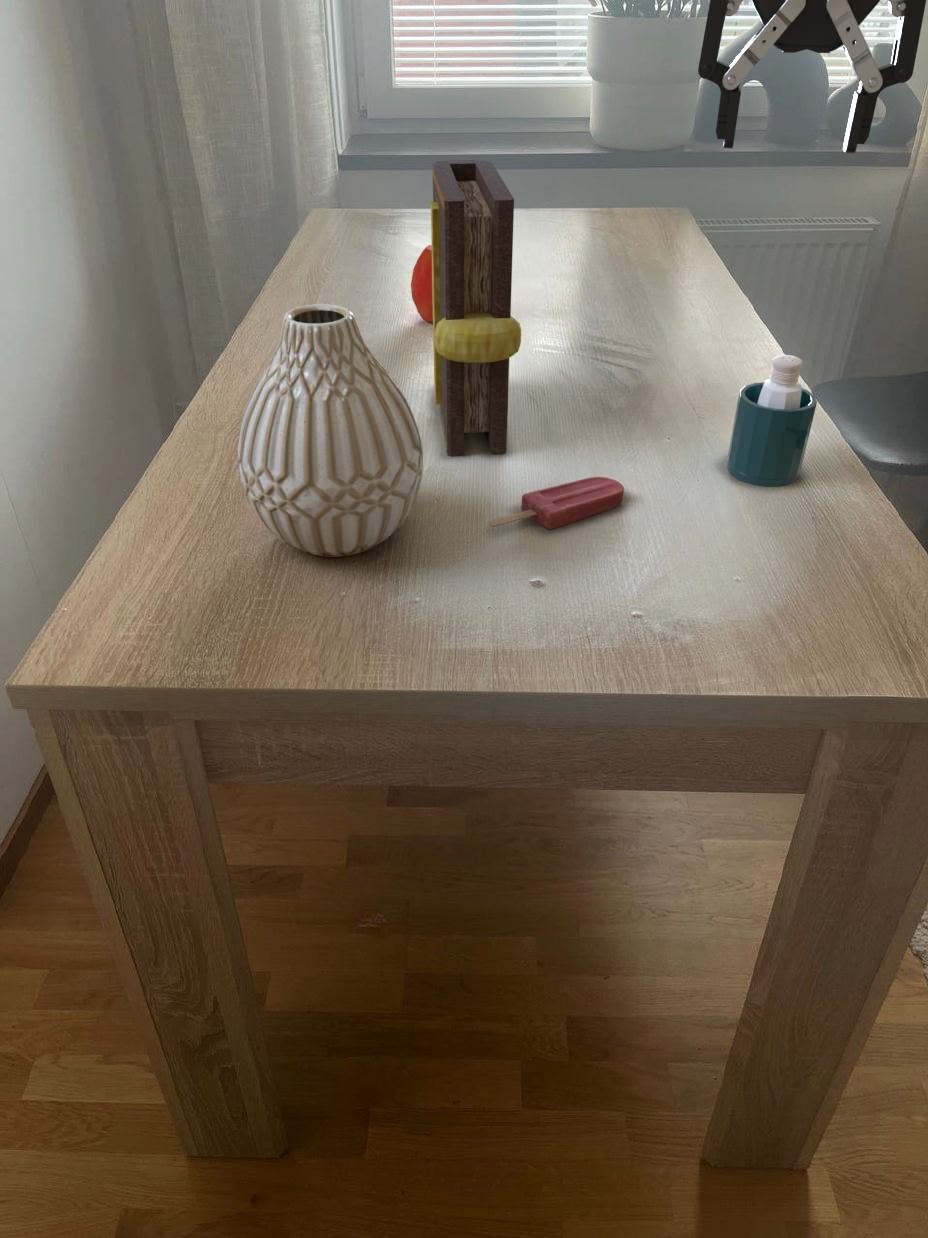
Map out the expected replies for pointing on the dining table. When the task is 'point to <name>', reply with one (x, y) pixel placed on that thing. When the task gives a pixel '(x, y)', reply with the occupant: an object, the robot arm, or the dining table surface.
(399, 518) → the vase
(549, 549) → the dining table surface
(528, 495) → the popsicle
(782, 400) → the pepper shaker
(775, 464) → the cup
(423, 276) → the apple
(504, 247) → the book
